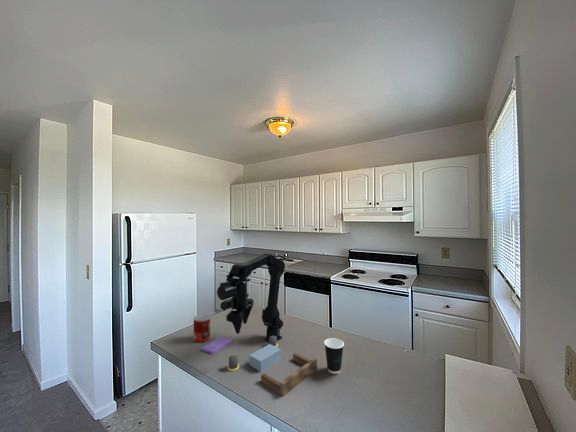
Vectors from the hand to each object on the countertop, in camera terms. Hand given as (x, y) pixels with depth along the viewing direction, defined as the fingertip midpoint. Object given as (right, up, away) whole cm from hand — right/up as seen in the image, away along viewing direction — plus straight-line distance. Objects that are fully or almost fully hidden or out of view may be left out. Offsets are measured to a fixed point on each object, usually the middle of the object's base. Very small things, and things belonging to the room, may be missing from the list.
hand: (241, 328), depth 111 cm
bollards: (+6, -13, +1) cm, 14 cm away
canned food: (-23, -13, +17) cm, 32 cm away
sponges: (-13, -14, +10) cm, 21 cm away
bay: (+21, -13, -12) cm, 27 cm away
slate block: (+11, -13, -3) cm, 17 cm away
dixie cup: (+39, -13, -9) cm, 42 cm away
